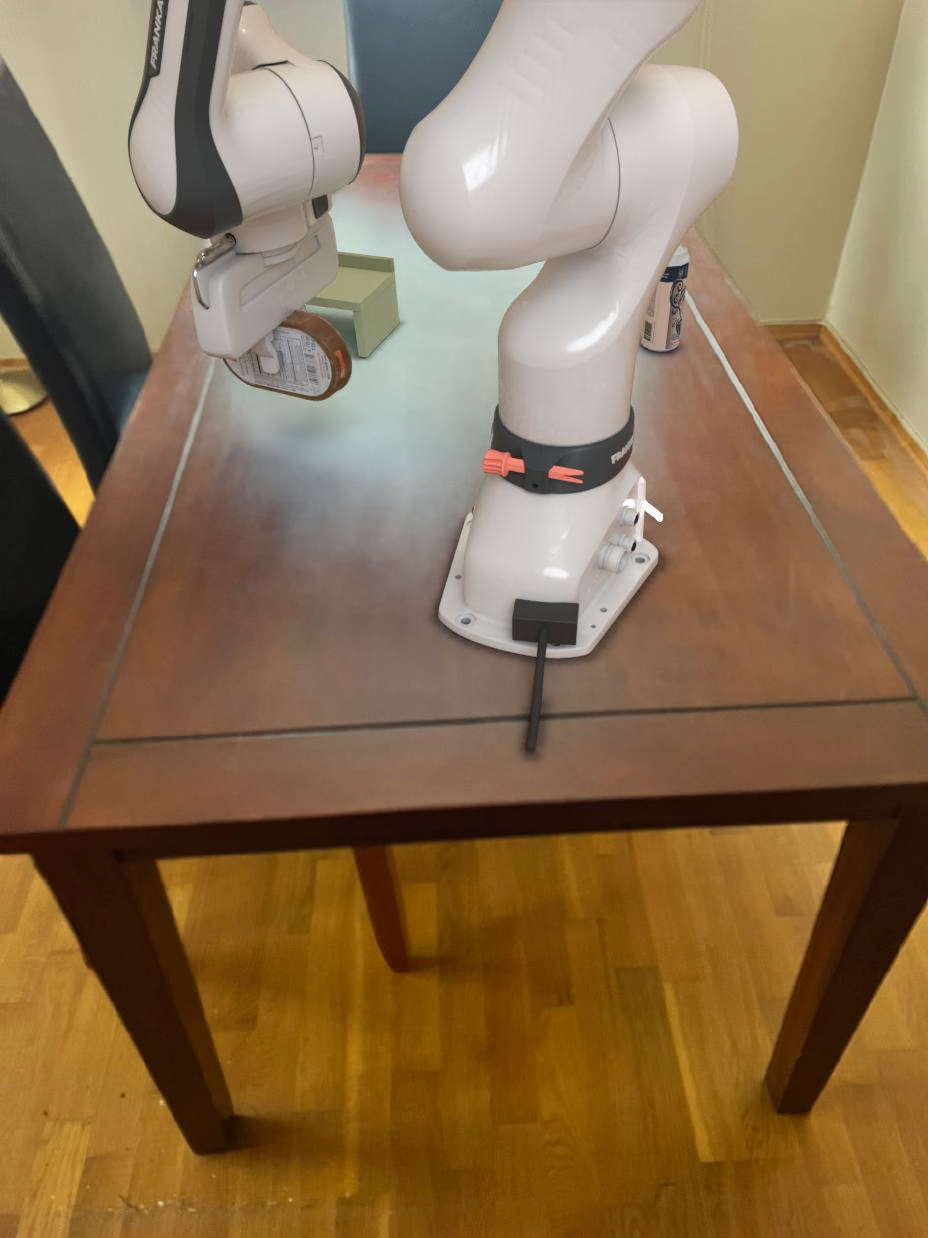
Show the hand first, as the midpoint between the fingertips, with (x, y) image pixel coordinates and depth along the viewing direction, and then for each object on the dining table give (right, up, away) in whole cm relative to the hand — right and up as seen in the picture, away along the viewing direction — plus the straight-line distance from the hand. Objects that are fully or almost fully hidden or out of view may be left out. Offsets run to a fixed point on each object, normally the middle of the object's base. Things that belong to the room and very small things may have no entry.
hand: (284, 360), depth 92 cm
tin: (0, -3, +2) cm, 3 cm away
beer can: (+42, +8, +24) cm, 49 cm away
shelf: (-2, +13, +31) cm, 33 cm away
